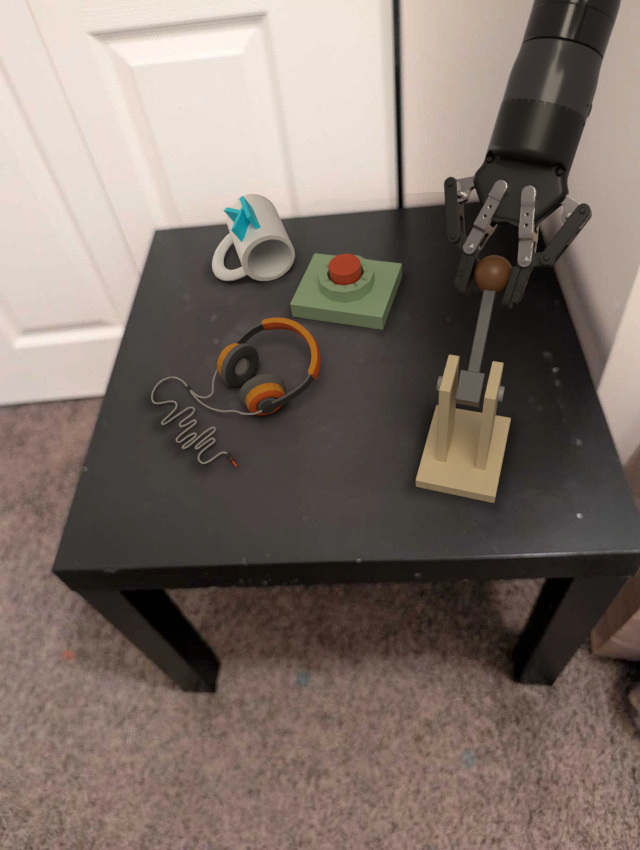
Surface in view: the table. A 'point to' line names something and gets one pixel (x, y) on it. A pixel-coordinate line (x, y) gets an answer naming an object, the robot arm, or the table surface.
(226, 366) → the headphones
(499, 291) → the lever
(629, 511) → the table surface
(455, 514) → the table surface
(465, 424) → the switch bracket
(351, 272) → the button
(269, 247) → the mug
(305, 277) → the control block
